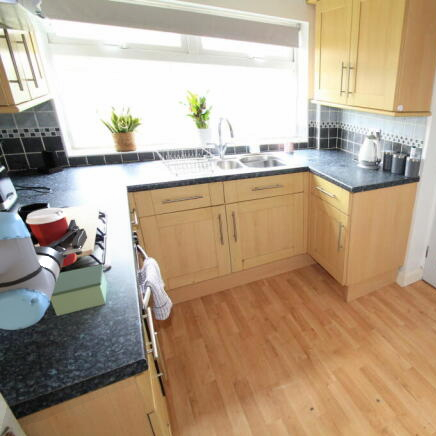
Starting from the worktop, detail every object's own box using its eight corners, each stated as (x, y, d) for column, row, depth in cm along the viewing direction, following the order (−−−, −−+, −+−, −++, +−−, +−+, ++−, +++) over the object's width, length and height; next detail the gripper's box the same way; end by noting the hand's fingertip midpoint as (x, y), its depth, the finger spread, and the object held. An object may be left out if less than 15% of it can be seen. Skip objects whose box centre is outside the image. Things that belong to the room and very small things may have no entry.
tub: (54, 317, 86) (45, 295, 83) (61, 295, 95) (53, 274, 92) (107, 304, 92) (100, 282, 89) (108, 284, 101) (102, 263, 98)
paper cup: (87, 253, 87) (71, 206, 81) (71, 268, 80) (52, 218, 74) (55, 255, 86) (37, 207, 80) (36, 271, 79) (14, 219, 73)
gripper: (-21, 298, 62) (13, 247, 81) (98, 273, 71) (105, 232, 89) (-38, 266, 59) (2, 220, 78) (89, 243, 68) (98, 207, 86)
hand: (57, 226), depth 83 cm, fingers closed on paper cup, 6 cm apart
